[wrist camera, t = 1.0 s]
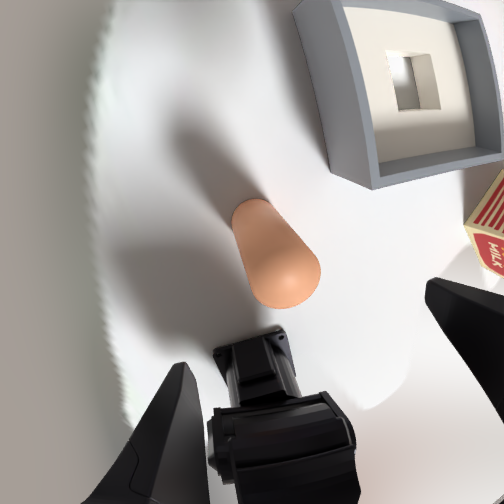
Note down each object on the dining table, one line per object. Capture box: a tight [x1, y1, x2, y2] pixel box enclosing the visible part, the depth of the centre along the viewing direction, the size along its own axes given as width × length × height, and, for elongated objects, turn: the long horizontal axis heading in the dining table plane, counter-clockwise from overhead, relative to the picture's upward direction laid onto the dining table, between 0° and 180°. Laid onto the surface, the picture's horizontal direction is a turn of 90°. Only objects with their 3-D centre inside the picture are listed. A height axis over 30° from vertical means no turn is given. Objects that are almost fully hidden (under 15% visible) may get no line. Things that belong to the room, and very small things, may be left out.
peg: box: [231, 199, 321, 309], centre depth 16 cm, size 3×3×8 cm
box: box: [292, 0, 504, 190], centre depth 15 cm, size 12×14×6 cm
